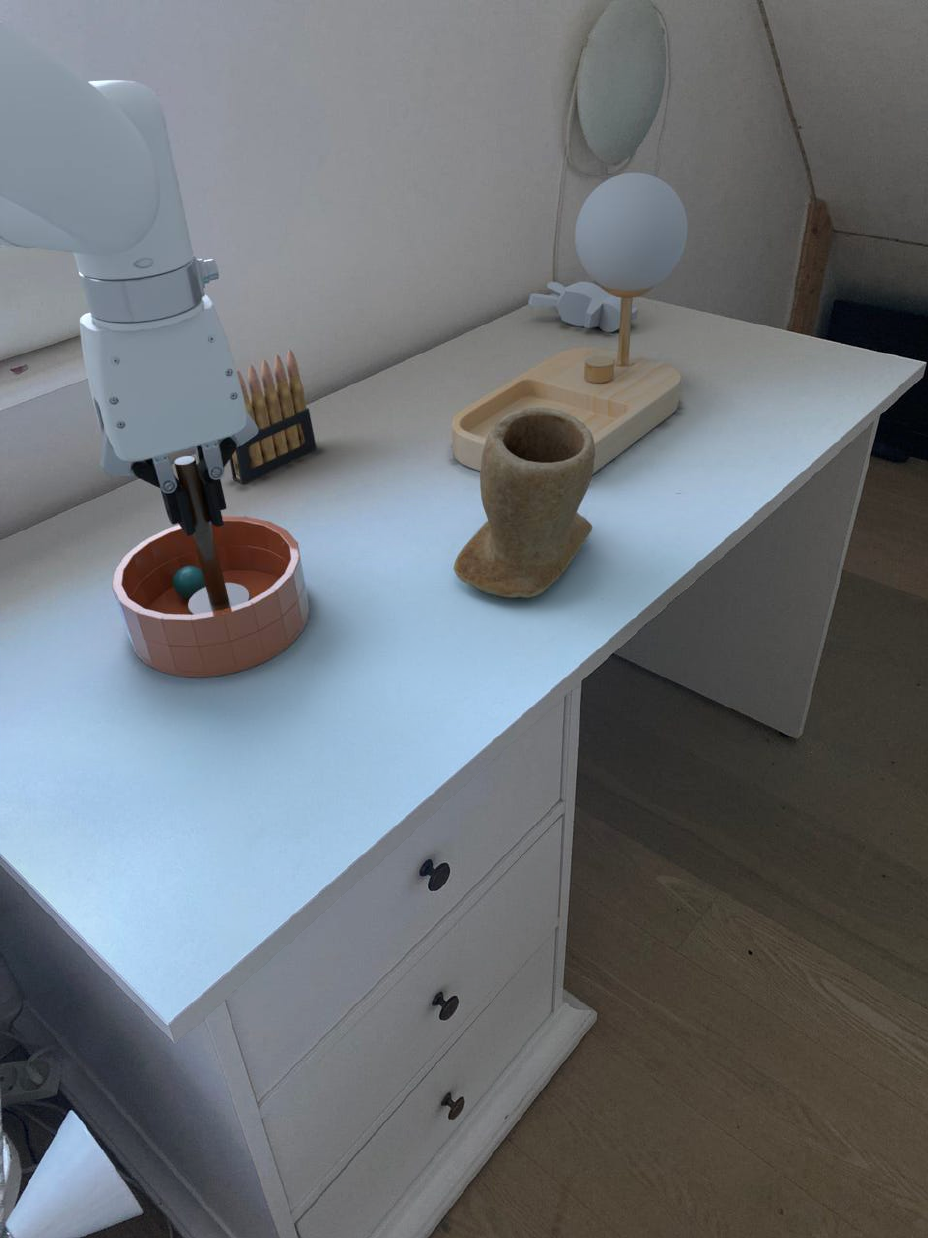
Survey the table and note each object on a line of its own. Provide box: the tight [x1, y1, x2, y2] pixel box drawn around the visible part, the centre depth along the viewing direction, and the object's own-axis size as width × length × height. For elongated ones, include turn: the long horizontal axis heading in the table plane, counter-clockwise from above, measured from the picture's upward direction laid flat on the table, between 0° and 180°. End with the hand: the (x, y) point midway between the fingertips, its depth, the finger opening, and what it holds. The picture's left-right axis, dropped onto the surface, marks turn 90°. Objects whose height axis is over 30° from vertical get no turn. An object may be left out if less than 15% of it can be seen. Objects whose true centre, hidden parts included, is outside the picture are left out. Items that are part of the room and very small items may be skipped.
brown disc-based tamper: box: [173, 455, 251, 615], centre depth 76 cm, size 5×5×15 cm
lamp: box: [451, 172, 689, 475], centre depth 105 cm, size 33×17×25 cm, turn 142°
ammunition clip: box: [229, 349, 317, 485], centre depth 104 cm, size 11×2×12 cm, turn 137°
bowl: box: [111, 516, 310, 678], centre depth 82 cm, size 16×16×6 cm
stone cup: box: [453, 407, 595, 599], centre depth 85 cm, size 15×12×15 cm
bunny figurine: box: [527, 280, 639, 333], centre depth 137 cm, size 10×5×15 cm
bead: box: [173, 566, 206, 599], centre depth 85 cm, size 3×3×3 cm
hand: (199, 522), depth 75 cm, fingers closed on brown disc-based tamper
